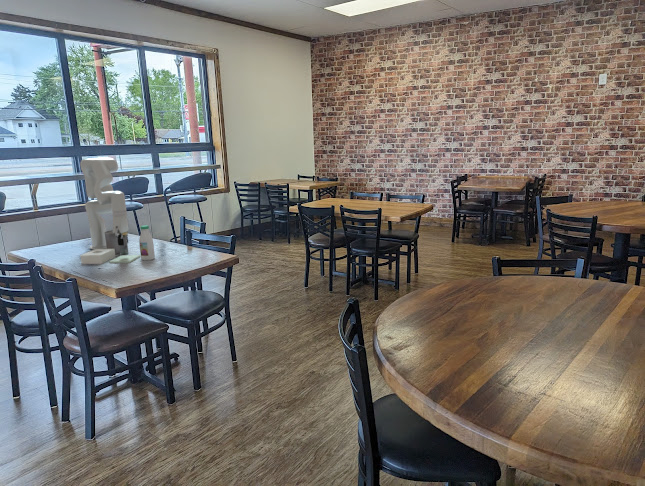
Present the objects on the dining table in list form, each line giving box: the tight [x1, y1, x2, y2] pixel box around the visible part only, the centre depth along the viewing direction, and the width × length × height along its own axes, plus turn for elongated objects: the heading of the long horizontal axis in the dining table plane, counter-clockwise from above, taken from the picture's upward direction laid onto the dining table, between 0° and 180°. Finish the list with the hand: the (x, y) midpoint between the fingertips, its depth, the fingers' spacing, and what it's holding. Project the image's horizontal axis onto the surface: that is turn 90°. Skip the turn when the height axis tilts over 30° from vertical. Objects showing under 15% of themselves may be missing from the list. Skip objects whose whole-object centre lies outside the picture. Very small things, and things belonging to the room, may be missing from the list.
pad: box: [108, 254, 141, 264], centre depth 269 cm, size 14×12×1 cm
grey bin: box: [105, 229, 120, 255], centre depth 286 cm, size 10×10×15 cm
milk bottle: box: [138, 224, 156, 261], centre depth 268 cm, size 8×8×20 cm
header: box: [80, 248, 117, 265], centre depth 269 cm, size 16×12×5 cm
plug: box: [119, 232, 129, 256], centre depth 267 cm, size 6×6×13 cm
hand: (123, 243), depth 267 cm, fingers closed on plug, 4 cm apart
